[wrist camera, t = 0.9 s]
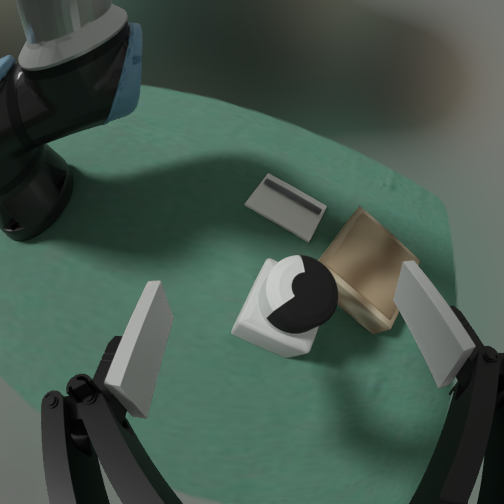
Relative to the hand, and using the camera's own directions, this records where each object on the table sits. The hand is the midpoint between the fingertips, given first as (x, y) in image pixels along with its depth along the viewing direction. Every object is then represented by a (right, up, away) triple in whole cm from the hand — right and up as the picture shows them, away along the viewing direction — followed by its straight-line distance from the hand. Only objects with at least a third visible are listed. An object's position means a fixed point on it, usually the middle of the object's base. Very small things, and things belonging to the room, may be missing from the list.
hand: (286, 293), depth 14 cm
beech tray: (+13, -1, +21) cm, 25 cm away
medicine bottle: (0, -6, +17) cm, 18 cm away
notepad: (+3, +8, +25) cm, 26 cm away
